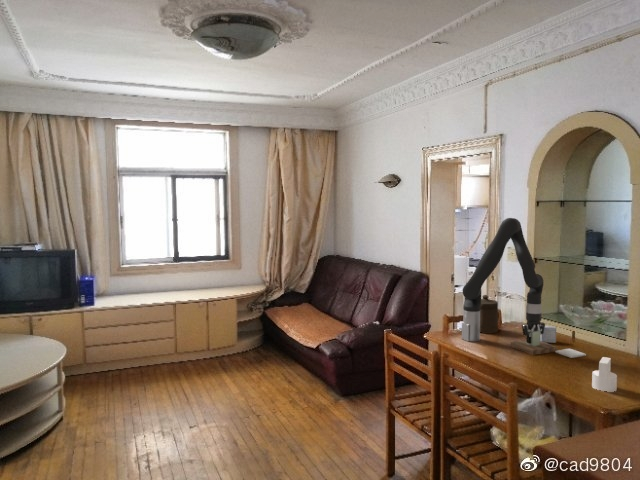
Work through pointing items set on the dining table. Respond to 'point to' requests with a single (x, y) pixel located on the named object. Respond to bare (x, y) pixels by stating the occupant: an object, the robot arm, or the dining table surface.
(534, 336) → the green block
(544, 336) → the medicine box
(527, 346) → the pocket board
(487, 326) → the wooden container
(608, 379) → the cylinder with rectangular tab
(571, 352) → the tile
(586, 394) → the dining table surface
